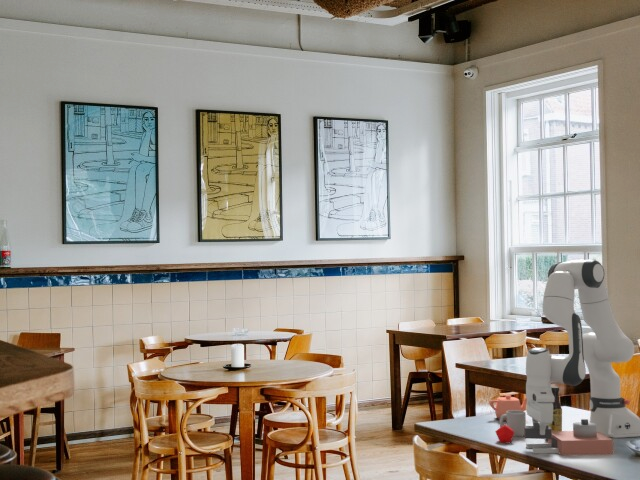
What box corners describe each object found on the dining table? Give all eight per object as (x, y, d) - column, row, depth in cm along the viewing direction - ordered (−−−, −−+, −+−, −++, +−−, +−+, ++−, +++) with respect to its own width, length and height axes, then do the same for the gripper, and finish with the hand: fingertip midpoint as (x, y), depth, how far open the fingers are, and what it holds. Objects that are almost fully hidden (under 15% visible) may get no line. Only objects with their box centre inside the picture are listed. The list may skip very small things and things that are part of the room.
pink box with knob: (596, 444, 301) (595, 415, 301) (613, 454, 285) (612, 423, 285) (523, 445, 300) (523, 416, 300) (536, 455, 284) (535, 424, 284)
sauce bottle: (553, 442, 305) (552, 388, 306) (541, 439, 311) (540, 386, 311) (566, 440, 308) (565, 387, 309) (554, 437, 314) (553, 385, 314)
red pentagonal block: (511, 430, 301) (512, 418, 309) (493, 432, 304) (494, 421, 311) (516, 446, 303) (517, 434, 310) (498, 448, 305) (499, 436, 313)
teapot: (486, 417, 357) (486, 393, 357) (527, 416, 357) (527, 392, 357) (492, 422, 345) (492, 397, 345) (535, 421, 345) (534, 396, 346)
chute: (525, 438, 291) (525, 425, 291) (524, 435, 296) (524, 422, 296) (551, 439, 289) (551, 425, 289) (550, 436, 294) (550, 423, 294)
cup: (525, 437, 314) (525, 414, 314) (499, 436, 317) (498, 413, 317) (526, 433, 321) (525, 410, 321) (500, 432, 324) (499, 409, 324)
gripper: (522, 389, 303) (522, 427, 303) (538, 398, 283) (538, 438, 282) (539, 389, 303) (539, 426, 303) (556, 398, 283) (556, 438, 282)
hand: (539, 432), depth 292 cm, fingers closed on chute, 5 cm apart
